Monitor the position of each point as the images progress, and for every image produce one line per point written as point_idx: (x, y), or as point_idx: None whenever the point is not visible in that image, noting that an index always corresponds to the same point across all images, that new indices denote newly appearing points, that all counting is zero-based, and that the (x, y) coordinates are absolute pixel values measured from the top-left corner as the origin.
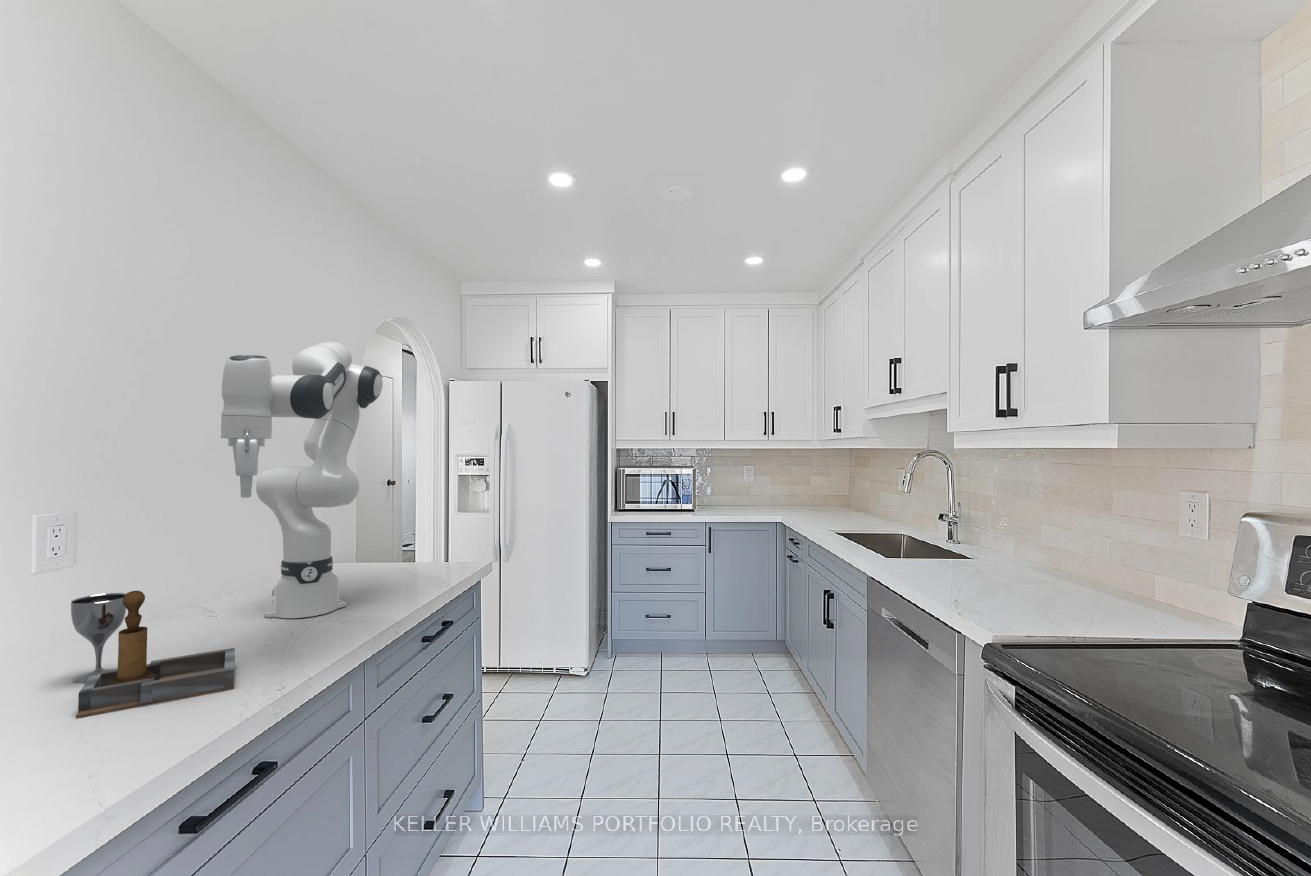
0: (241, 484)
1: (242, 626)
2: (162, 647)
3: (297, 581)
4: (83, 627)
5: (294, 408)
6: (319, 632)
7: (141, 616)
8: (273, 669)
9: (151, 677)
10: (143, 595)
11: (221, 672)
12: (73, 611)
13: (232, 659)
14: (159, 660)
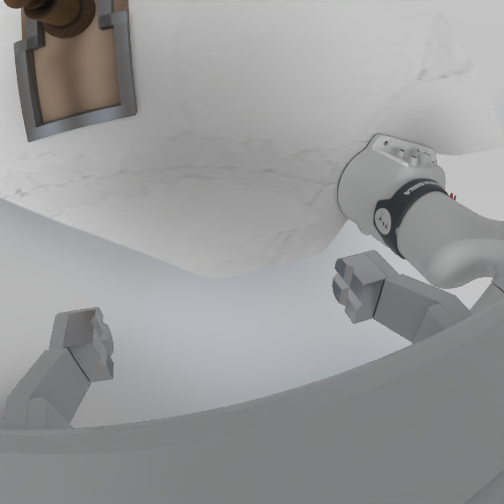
0: (27, 380)
1: (349, 104)
2: (298, 6)
3: (383, 198)
4: None
5: None
6: (249, 207)
7: (32, 8)
8: (92, 167)
9: (57, 35)
10: (13, 6)
11: (26, 127)
12: None
13: (72, 126)
14: (121, 21)
